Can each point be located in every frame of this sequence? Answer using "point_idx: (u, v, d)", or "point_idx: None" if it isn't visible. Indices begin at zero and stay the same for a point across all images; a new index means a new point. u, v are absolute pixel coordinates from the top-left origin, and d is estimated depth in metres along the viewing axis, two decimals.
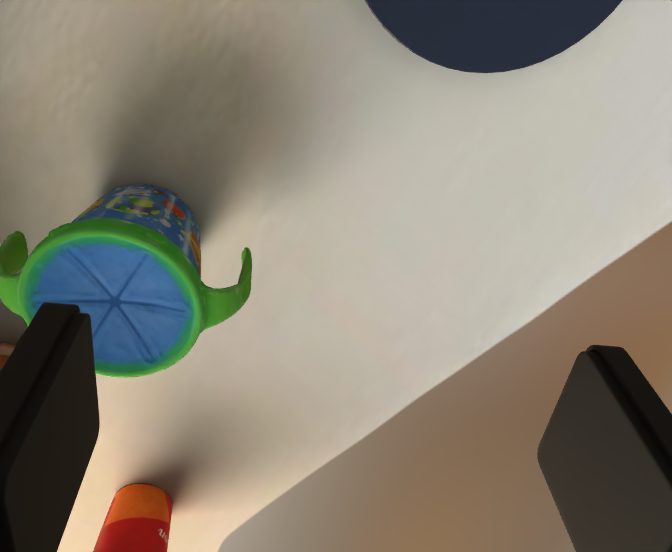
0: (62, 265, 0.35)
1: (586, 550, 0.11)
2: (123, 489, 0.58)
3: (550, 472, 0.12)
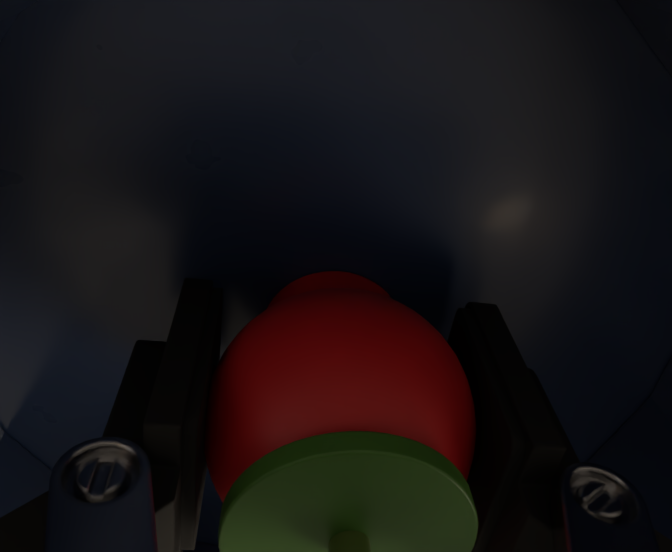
0: None
1: None
2: None
3: None
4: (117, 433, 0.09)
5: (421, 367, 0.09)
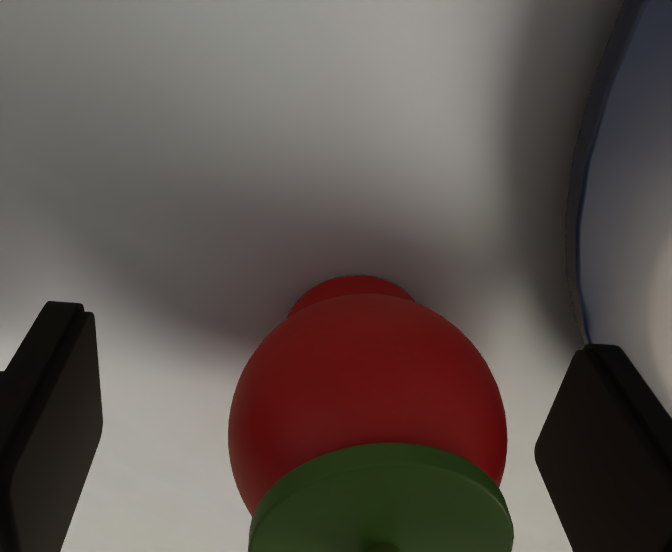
0: None
1: (582, 548, 0.11)
2: None
3: (547, 470, 0.12)
4: None
5: (454, 377, 0.09)
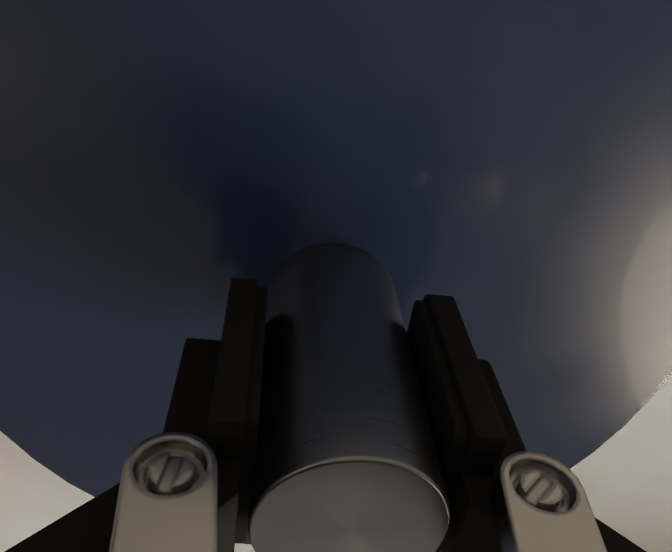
0: None
1: None
2: None
3: None
4: (177, 429, 0.09)
5: None
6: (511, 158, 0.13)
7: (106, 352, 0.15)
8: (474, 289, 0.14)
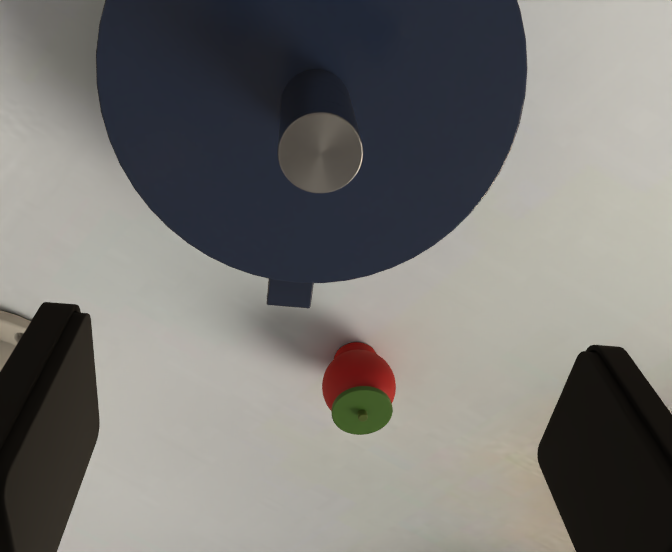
0: None
1: (586, 550, 0.11)
2: None
3: (550, 472, 0.12)
4: None
5: (379, 372, 0.39)
6: (405, 20, 0.25)
7: (196, 135, 0.27)
8: (392, 98, 0.27)
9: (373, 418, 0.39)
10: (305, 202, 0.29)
